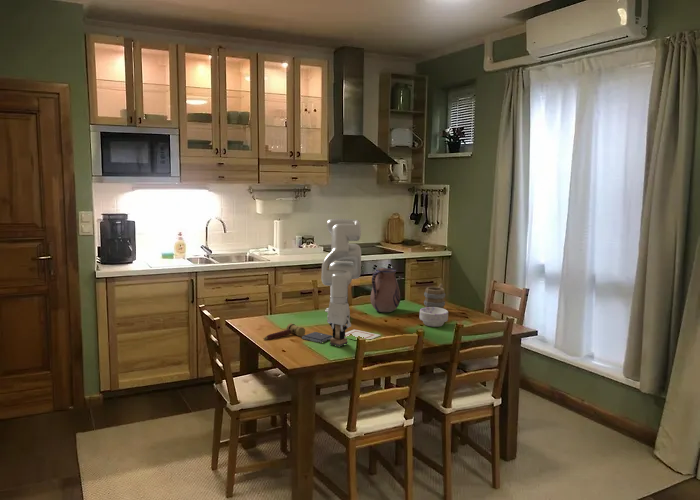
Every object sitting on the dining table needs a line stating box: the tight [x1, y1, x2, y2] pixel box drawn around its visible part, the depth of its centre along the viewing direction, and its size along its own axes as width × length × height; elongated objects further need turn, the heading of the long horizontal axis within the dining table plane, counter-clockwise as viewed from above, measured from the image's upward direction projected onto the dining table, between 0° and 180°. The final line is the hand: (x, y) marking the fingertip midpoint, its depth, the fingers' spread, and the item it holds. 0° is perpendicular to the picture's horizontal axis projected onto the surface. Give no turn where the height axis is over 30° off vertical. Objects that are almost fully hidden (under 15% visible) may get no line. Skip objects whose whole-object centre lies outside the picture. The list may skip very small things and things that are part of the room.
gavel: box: [263, 323, 306, 341], centre depth 277 cm, size 21×5×10 cm
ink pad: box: [301, 331, 333, 344], centre depth 275 cm, size 12×10×2 cm
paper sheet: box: [345, 328, 381, 340], centre depth 280 cm, size 16×15×1 cm
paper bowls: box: [418, 306, 449, 328], centre depth 303 cm, size 15×15×8 cm
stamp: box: [329, 324, 349, 347], centre depth 265 cm, size 6×6×10 cm
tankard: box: [423, 283, 446, 309], centre depth 334 cm, size 20×13×15 cm, turn 150°
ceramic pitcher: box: [370, 267, 401, 313], centre depth 329 cm, size 18×21×25 cm
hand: (338, 337), depth 265 cm, fingers closed on stamp, 3 cm apart
